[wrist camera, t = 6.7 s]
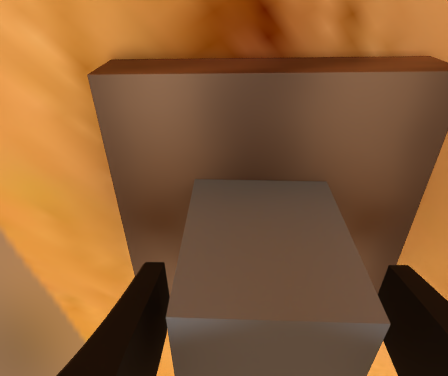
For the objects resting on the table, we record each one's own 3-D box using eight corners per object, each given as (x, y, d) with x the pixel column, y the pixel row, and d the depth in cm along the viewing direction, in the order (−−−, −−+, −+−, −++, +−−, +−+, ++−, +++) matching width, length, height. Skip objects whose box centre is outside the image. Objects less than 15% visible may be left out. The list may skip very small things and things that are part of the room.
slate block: (326, 181, 12) (390, 323, 7) (307, 273, 15) (344, 424, 10) (194, 179, 12) (165, 317, 7) (199, 270, 15) (181, 417, 10)
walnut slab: (422, 53, 12) (470, 70, 10) (357, 271, 19) (376, 315, 16) (116, 56, 13) (87, 74, 10) (155, 269, 19) (143, 312, 17)
